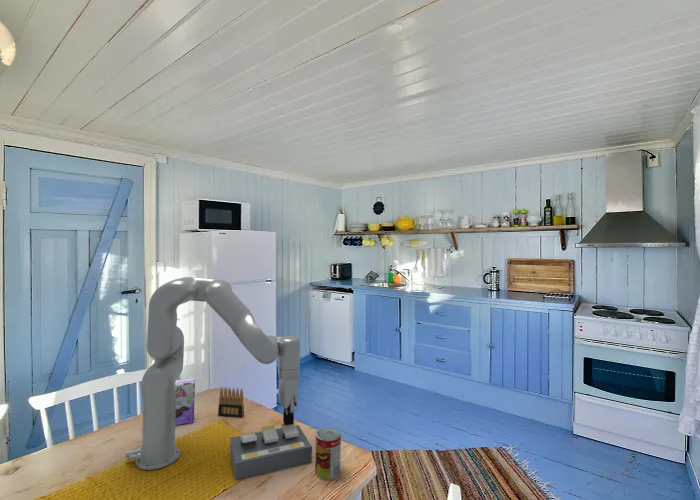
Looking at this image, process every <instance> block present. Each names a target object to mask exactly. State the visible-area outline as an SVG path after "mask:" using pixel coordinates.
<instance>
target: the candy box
mask: <svg viewBox="0 0 700 500" xmlns="http://www.w3.org/2000/svg"><path fill="white" fill-rule="evenodd" d="M195 393H196V378H194V377H193V378H187V379H177V380H176V382H175V395H176V419H175V427H176V426H185V425H189V424H194V423H195V422H194V421H195V401H196V400H195V396H196V395H195Z"/></svg>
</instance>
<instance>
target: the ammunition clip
mask: <svg viewBox="0 0 700 500" xmlns="http://www.w3.org/2000/svg"><path fill="white" fill-rule="evenodd" d="M218 400H219V401H218V402H219V403H218V409H217V410H218V411H217V412H218V413H217V417H224V418H238V419H242V418H244V416H245V405H244V390H243V388H242V387H241V388H240V390H239V387H237V388H236V390H235V387H233V388H232V389H231V387H230V386H229V387H228V389H227V387H226V386H225V387H224V388H223V386H221V387H220V390H219V399H218Z"/></svg>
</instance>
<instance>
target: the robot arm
mask: <svg viewBox="0 0 700 500" xmlns="http://www.w3.org/2000/svg"><path fill="white" fill-rule="evenodd" d="M190 301H191V302H193V301H194V302H206V304H208V305H209V306H210V308H211V309H212V310H213V311H214V312H215V313H216V314H217V315H218V316H219V317H220V319H222V320H223V322H225V324H226V325H227V326H229V329H231V331H232V332H233V334H234V335H235V336H236V337H237V339H238V340H239V341H240V343H241V344H242V346H243V347H244V348H245V350H247V351H248V353H249V354H251V356H253V357H254V358H255V360H257V362H259V363H261V364H263V365H271V364H272V363H274V362H275V361H276V360H277V359H278V361H277V363H278V371H277V372H278V375H277V376H278V379H279V380H278V382H279V383H278V393H277V395H278V396H277V397H278V402H279V403H280V404H281V407H282V408H283V413H282V414H283V418H282V420H283V421H282V424H285V425H290V424H293V423H294V424H295V420H294V419H295V416H294V415H295V410H296V409H295V407H296V408H297V406H298V404H299V381H298V378H299V377H300V373H301V372H300V371H301V369H300V368H301V367H300V366H301V365H300V363H301V355H300V354H301V340H300V337H298V336H295V335H286V336H277V335H276V336H275V335H266V334H265V333H264V332H263V330H262V329H261V327H260V326H259V325H258V324H257V321H256V320H255V317H254V315H253V313H252V311H251V310H250V309H249V308H248V307H247V306H246V305H245V303H243V302H242V300H241V299H240V298H239V297H238V296H237V295H236V294H235V293H234V291H233V288H232V286H231V284H230V283H229V282H227V281H226V280H223V279H213V278H204V277H203V278H202V277H192V276H185V277H180V278H179V277H178V278H176V279H173V280H170V281H167V282H166V283H164V284H162V285H160V286H159V287H158V288H157V289H155V291H154V292H153V294H152V295H151V297H150V300H149V304H148V318H147V319H148V320H147V336H146V352H147V354H148V355H149V357H150V358H152V359H154V363H152V365H150V366H149V367H148V369H146V370H145V372H144V374H143V377H142V379H141V393H142V438H141V439H142V440H141V446H140V447H138V448H137V449H131V450H129V449H128V450H127V451H126V452H125V457H126V458H128V459H129V461H131V460H135V461H136V463H135V465H136V467H137V468H138V469H140V470H143V471H152V470H153V471H155V470H158V469H162V468H166V467H167V466H169V465H171V464H173V463H174V462H176V461H177V460H178V459H179V457H180V455H181V454H180V453H181V450H180V447H178V446H176V443H175V442H176V426H175V419H176V395H175V382H176V380H179V378H180V376H181V374H182V373H183V369H184V354H185V335H184V332H183V331H182V329H181V328H180V326H178V325H177V323H178V311H177V310H178V307H179V306H181V305H183V304H185V303H188V302H190Z"/></svg>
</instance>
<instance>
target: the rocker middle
mask: <svg viewBox="0 0 700 500" xmlns="http://www.w3.org/2000/svg"><path fill="white" fill-rule="evenodd" d="M276 429H277V428H276V427H275V424H271V425H270V424H269V425H266V426H261V427H260V430H261V431H260V432H262V435H263V438H264V442H265V444H266V443H271V442H276V441H278V435H277V432H276Z"/></svg>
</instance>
